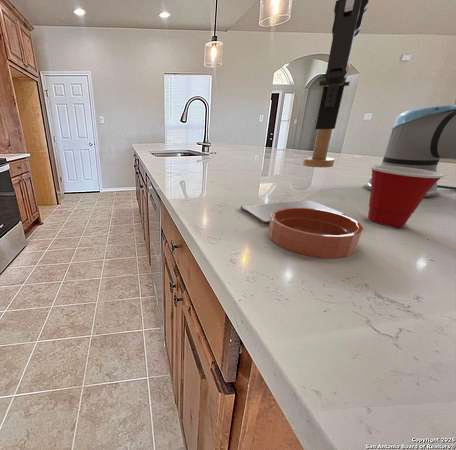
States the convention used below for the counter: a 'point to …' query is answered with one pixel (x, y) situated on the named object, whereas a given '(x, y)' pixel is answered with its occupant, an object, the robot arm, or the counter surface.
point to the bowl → (315, 232)
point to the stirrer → (321, 146)
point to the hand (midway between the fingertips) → (325, 128)
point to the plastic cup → (398, 193)
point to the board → (266, 210)
